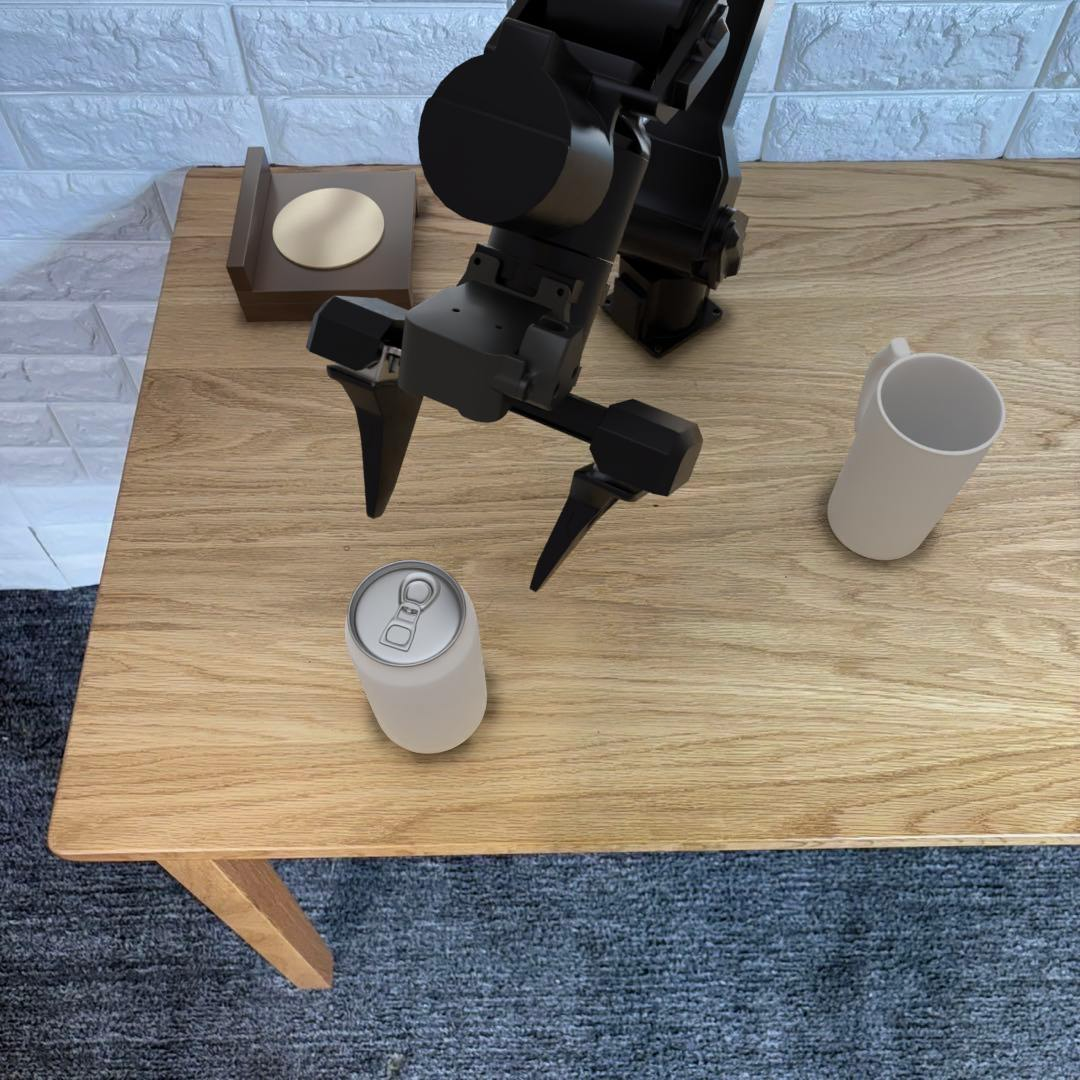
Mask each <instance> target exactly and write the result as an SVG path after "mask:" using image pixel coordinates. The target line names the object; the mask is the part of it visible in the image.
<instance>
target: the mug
mask: <svg viewBox="0 0 1080 1080" xmlns="http://www.w3.org/2000/svg"><path fill="white" fill-rule="evenodd" d="M856 406H857V407H856V412H855V417H854V422H853V430H854V433H855V436H854V439H853V441H852V444H851V445H850V448H849V451H848V453H847V455H846V456H845V457H846V458H845V460H844V463H843V464H842V467H841V469H840V472H839V474H838V476H837V479H836V482H835V484H834V487H833V489H832V492H831V494H830V496H829V499H828V502H827V503H828V504H827V509H826V510H827V511H826V512H827V513H826V514H827V520H828V524H829V526H830V529H831V531H832V532H833V534H834V535H835V537H836V539H838V540H839V541H840V543H841V544H843V546H845V547H846V548H847V549H849V550H850V551H852V552H854V553H855V554H857V555H860V556H861V557H864V558H867V559H871V560H877V561H893V560H898V559H901V558H903V557H907V556H909V555H910V554H912V553H913V552H915V550H917V549H918V548H919V547H920V546H921V544H922V543H923V542H924V541H925V539H926V538H927V536H928V535H929V534H930V533H931V532H932V531H933V528H934V527H935V526H936V525H937V524H938V522H939V521H940V519H941V518H942V517H943V515H944V514H945V513H946V511H947V509H948V508H949V506H950V505H951V504H952V503H953V501H954V499H955V498H956V497H957V495H958V494H959V493H960V491H961V490H962V488H963V487H964V486H965V485H966V483H967V482H968V480H969V479H970V478H971V476H972V475H973V473H974V472H975V471H976V470H977V468H978V466H979V465H980V464H981V462H982V461H983V459H984V458H985V457H986V455H987V454H988V453H989V451H990V449H991V448H992V446H993V445H994V443H995V441H996V440H997V439H998V438H999V437H1000V435H1001V433H1003V429H1004V427H1005V424H1006V421H1007V420H1006V418H1007V410H1006V403H1005V401H1004V398H1003V395H1002V393H1001V391H1000V390H999V387H997V385H996V384H995V383H994V381H992V379H991V378H990V377H989V376H988V375H987V374H986V373H985V372H983V371H982V370H981V369H979V368H978V367H976V366H975V365H973V364H972V363H970V362H968V361H966V360H963V359H961V358H958V357H956V356H952V355H948V354H943V353H937V352H936V353H935V352H920V353H914V354H912V350H911V348H910V346H909V343H908V340H907V338H906V337H895V338H892V339H891V340H890V341H889V343H888V345H886V346H885V347H883V348H882V349H880V350H879V351H878V352H877V353H876V354H875V355H874V356H873V358H872V359H871V361H870V363H869V365H868V367H867V369H866V372H865V375H864V377H863V381H862V384H861V388H860V391H859V396H858V401H857V405H856Z"/></svg>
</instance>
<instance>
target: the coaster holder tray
mask: <svg viewBox="0 0 1080 1080" xmlns="http://www.w3.org/2000/svg"><path fill="white" fill-rule="evenodd" d="M418 186H419V185H418V180H417V173H416V171H415V170H390V171H389V170H387V171H386V170H384V171H383V170H382V171H381V170H379V171H378V170H377V171H329V172H328V171H327V172H325V171H322V172H320V171H319V172H318V171H317V172H272V170H271V166H270V164H269V160H268V157H267V153H266V149H265V147H264V146H248V147H247V150H246V156H245V160H244V165H243V171H242V177H241V182H240V187H239V193H238V199H237V204H236V210H235V214H234V215H235V216H234V221H233V225H232V232H231V236H230V241H229V248H228V253H227V259H226V264H225V268H226V271H227V274H228V276H229V280H230V281H231V284H232V287H233V289H234V291H235V295H236V298H237V300H238V304H239V305H240V306H239V307H240V309H241V311H242V313H243V317H244V319H245V321H246V322H277V321H278V322H281V321H282V322H283V321H286V322H287V321H313V317H314V314H315V313H316V312H317V311H318V309H319V308H320V307H321V306H322V305H323V303H325V302H326V301H327V300H329V299H330V298H331V297H333V296H349V297H364V298H378V299H380V300H383V301H386V302H388V303H391V304H393V305H396V306H398V307H401V308H403V309H406V310H410V309H412V308H413V307H415V300H414V292H413V287H412V277H413V262H414V261H413V260H414V243H415V228H416V227H415V226H416V217H419V216H420V203H421V200H420V194H419V187H418Z"/></svg>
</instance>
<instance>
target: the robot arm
mask: <svg viewBox="0 0 1080 1080" xmlns="http://www.w3.org/2000/svg"><path fill="white" fill-rule="evenodd" d="M776 2H777V0H515V1H514V2H513V3H512V5H511V7H510V8H509V10H508V11H507V13H506V14H505V15H504V17H503V19H502V20H501V21H500V23H499V24H498V26H497V27H496V29H495V30H494V32H493V33H492V35H491V36H490V37H489V39H488V40H487V41H486V43H485V45H484V48H483V54H479V55H475V56H473V57H470V58H468V59H466V60H465V61H463V62H462V63H460V64H459V65H456V66H455V67H454V68H453V69H452V70H451V71H450V72H449V73H448V74H446V76H444V77H443V79H441V81H440V82H439V83H438V85H437V87H436V89H434V91H433V93H432V94H431V96H430V97H428V98H427V99H426V100H425V102H424V106H423V108H422V112H421V114H420V119H419V126H418V132H417V147H418V158H419V161H420V165H421V169H422V172H423V176H424V178H425V180H426V181H427V184H428V185H429V188H430V189H431V191H432V193H433V194H434V195H435V196H436V198H437V199H438V200H439V201H440V202H441V203H442V204H443V205H444V206H445V207H446V208H447V209H449V210H451V211H452V212H453V213H455V214H456V215H457V216H459V217H461V218H463V219H466V220H468V221H471V222H475V223H479V224H481V225H486V226H489V227H492V228H491V231H490V234H489V237H488V240H487V243H486V244H483V243H478V242H477V243H476V245H475V248H474V251H473V253H472V254H471V255H470V257H469V260H468V263H467V266H466V270H465V272H464V274H463V275H462V277H461V278H460V280H459V281H458V283H457V284H456V285H455V286H448V287H445V288H443V289H441V290H440V291H438V292H436V293H434V294H433V295H431V296H429V297H428V298H426V299H425V300H422V301H421V302H420V303H419V304H417V305H414V307H413V308H412V309H410V310H406V309H403V308H401V307H398V306H396V305H393V304H391V303H388V302H386V301H383V300H380V299H378V298H364V297H349V296H333V297H331V298H330V299H329V300H327V301H326V302H325V303H323V305H322V306H321V307H320V308H319V309H318V311H317V312H316V313H315V314H314V317H313V320H311V325H310V328H309V333H308V337H307V340H306V345H305V349H306V350H307V351H308V352H309V353H310V354H311V353H312V354H314V355H317V356H319V357H321V358H323V359H326V360H328V361H331V362H333V363H334V364H327V365H326V367H325V368H326V374H327V377H328V378H330V379H331V380H334V381H336V382H338V383H339V384H340V385H341V387H342V388H343V390H344V392H345V393H346V395H347V397H348V398H349V400H350V402H351V404H352V405H353V407H354V410H355V415H356V420H357V425H358V426H357V427H358V431H359V438H360V446H361V447H360V448H361V459H362V474H363V485H364V497H365V500H364V501H365V513H366V516H367V517H368V518H370V519H372V520H375V519H379V518H381V517H382V516H383V515H384V513H385V511H386V508H387V506H388V504H389V503H390V499H391V497H392V495H393V493H394V491H395V489H396V486H397V483H398V479H399V476H400V472H401V470H402V466H403V463H404V460H405V457H406V453H407V450H408V449H409V444H410V441H411V438H412V435H413V432H414V428H415V426H416V423H417V418H418V416H419V414H420V410H421V407H422V404H423V400H424V397H426V398H428V399H430V400H432V401H436V402H437V403H440V404H442V405H445V406H447V407H450V408H452V409H454V410H456V411H457V412H458V413H459V415H460V416H461V417H463V418H465V419H467V420H470V421H473V422H477V423H482V424H486V423H487V424H490V423H496V422H499V421H500V420H502V419H503V418H505V416H506V415H507V414H508V412H511V413H513V414H516V415H517V416H520V417H523V418H525V419H528V420H531V421H532V422H535V423H538V424H540V425H543V426H545V427H548V428H550V429H553V430H555V431H558V432H560V433H562V434H565V435H568V436H569V437H572V438H574V439H577V440H580V441H582V442H583V443H587V444H589V448H588V451H590V454H591V457H592V459H593V462H591V463H589V464H586V465H583V466H582V467H580V468H577V469H575V470H574V471H573V474H572V479H571V483H570V488H569V492H568V496H567V498H566V501H565V503H564V505H563V507H562V509H561V511H560V513H559V515H558V517H557V520H556V522H555V524H554V525H553V528H552V530H551V532H550V534H549V537H548V538H547V541H546V542H545V545H544V547H543V549H542V551H541V553H540V555H539V557H538V559H537V562H536V564H535V568H534V571H533V573H532V577H531V580H530V584H529V587H528V589H529V590H530V591H532V592H534V593H537V592H539V591H540V590H541V589H543V587H544V586H545V585H546V584H547V583H548V581H550V579H551V578H552V576H553V575H554V574H555V573H556V571H557V570H558V569H559V568H560V567H561V565H562V564H563V563H564V562H565V561H566V559H567V558H568V557H569V556H570V555H571V554H572V552H573V551H574V550H575V548H577V546H578V544H580V542H581V541H582V540H583V539H584V538H585V536H586V535H587V534H588V532H589V531H590V530H591V529H592V528H593V526H594V525H595V524H596V523H597V522H598V521H599V520H600V519H601V518H602V517H603V516H604V515H605V514H606V513H607V512H608V511H609V510H610V509H611V508H613V506H614V505H615V504H617V502H619V500H620V501H623V502H626V503H637V502H638V501H639V500H641V499H642V498H644V497H645V496H647V495H648V494H652V495H656V496H661V497H665V498H668V497H670V496H671V495H672V494H674V493H675V492H676V491H677V490H679V489H680V488H681V487H683V486H684V485H685V484H687V483H688V482H689V481H690V480H691V479H690V478H691V477H692V473H693V471H694V469H695V466H696V463H697V461H698V459H699V456H700V453H701V451H702V447H703V443H704V438H703V435H702V433H701V429H700V427H699V424H698V423H696V422H694V421H692V420H690V419H689V420H688V419H686V418H684V417H681V416H678V415H676V414H673V413H671V412H669V411H665V410H663V409H660V408H658V407H656V406H653V405H651V404H648V403H645V402H643V401H640V400H638V399H635V398H630V399H626V400H622V401H619V402H615V403H611V404H609V405H608V406H604V405H602V404H599V403H597V402H594V401H592V400H590V399H587V398H584V397H582V396H579V395H577V394H574V393H572V390H573V388H575V387H576V386H577V383H578V380H579V377H580V374H581V372H582V368H583V367H582V366H581V362H582V358H583V353H584V350H585V348H586V345H587V341H588V339H589V335H590V333H591V330H592V327H593V323H594V321H595V319H596V316H597V313H598V309H599V307H600V309H601V310H602V311H603V313H605V314H606V315H607V316H608V317H609V318H610V320H611V321H612V322H613V323H614V324H615V325H617V327H619V328H620V329H621V330H622V331H623V332H624V333H625V334H626V335H627V336H628V337H629V338H630V339H631V340H633V341H635V342H636V343H637V344H639V346H641V347H642V348H643V349H644V350H645V351H647V353H648V354H649V355H650V356H652V358H656V359H661V358H663V357H665V356H666V355H667V354H670V353H671V352H673V351H675V350H676V349H677V348H679V347H680V346H681V345H683V344H685V343H686V342H688V341H689V340H691V339H693V338H694V337H695V336H697V335H699V334H700V333H702V332H703V331H705V330H707V329H708V328H710V327H712V325H714V324H716V323H718V321H719V322H720V320H721V319H722V318H723V315H724V311H723V309H722V308H721V307H720V306H719V305H718V304H717V303H715V302H714V301H713V300H712V299H711V298H710V293H711V290H712V291H715V292H716V291H717V290H718V287H720V284H721V283H722V282H723V280H726V279H727V278H730V277H734V276H737V275H738V273H739V272H740V269H741V265H742V261H743V257H744V252H745V251H744V249H745V247H744V243H745V240H746V237H747V232H746V230H747V226H748V223H749V220H750V217H749V216H748V215H747V214H745V213H744V212H742V211H741V210H739V209H738V208H734V206H735V204H736V201H737V197H738V195H739V191H740V188H741V185H742V181H743V179H742V178H743V176H742V171H741V166H740V165H741V164H740V161H739V154H738V149H737V144H736V138H735V133H734V132H735V131H734V127H735V124H736V120H737V117H738V114H739V111H740V108H741V105H742V103H743V99H744V97H745V93H746V91H747V88H748V85H749V82H750V80H751V76H752V72H753V69H754V67H755V64H756V61H757V58H758V55H759V52H760V51H761V48H762V47H761V46H762V44H763V40H764V38H765V34H766V32H767V29H768V27H769V23H770V20H771V17H772V14H773V11H774V8H775V6H776ZM644 118H645V120H644ZM617 255H619V261H618V270H617V271H618V272H617V276H615V277H614V280H613V291H612V292H611V293H609V291H610V289H611V285H610V284H608V281H609V278H610V275H611V272H612V269H613V266H614V264H613V263H615V260H616V258H617Z"/></svg>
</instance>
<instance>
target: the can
mask: <svg viewBox="0 0 1080 1080" xmlns="http://www.w3.org/2000/svg"><path fill="white" fill-rule="evenodd" d="M344 640H345V647H346V650H347V652H348V655H349V658H350V661H351V663H352V665H353V667H354V670H355V672H356V675H357V677H358V680H359V682H360V685H361V686H362V688H363V692H364V694H365V696H366V698H367V700H368V702H369V704H370V707H371V709H372V712H373V715H374V716H375V719H376V721H377V723H378V724H379V726H380V729H381V730H382V732H383V733H384V734H385V735H386V736H387V737H388V739H389V740H391V742H392V743H394V744H396V745H397V746H399V747H400V748H402V749H404V750H406V751H410V752H413V753H417V754H428V755H429V754H439V753H442V752H446V751H449V750H452V749H453V748H454V749H455V748H456V747H458V746H459V745H461V744H463V743H465V742H466V740H467V741H468V739H470V737H471V736H472V735H473V734H474V733H475V731H476V730H477V729H478V728H479V726H480V724H481V722H482V720H483V719H484V715H485V713H486V709H487V704H488V703H487V702H488V692H487V691H488V689H487V680H486V673H485V667H484V666H485V665H484V658H483V651H482V643H481V636H480V630H479V623H478V618H477V613H476V609H475V607H474V604H473V602H472V599H471V598H470V596H469V594H468V592H467V591H466V590H465V588H463V586H462V585H461V584H460V583H459V582H458V581H457V579H456V578H455V577H454V576H453V575H452V574H451V573H450V572H448V571H447V570H446V569H445V568H443V567H441V566H440V565H438V564H435V563H433V562H430V561H426V560H422V559H399V560H394V561H391V562H389V563H386V564H383V565H381V566H379V567H377V568H376V569H374V570H372V571H371V572H370V573H368V574H367V575H365V577H364V578H363V579H362V580H361V581H360V582H359V583H358V585H357V586H356V587H355V589H354V590H353V593H352V595H351V597H350V599H349V603H348V606H347V613H346V617H345V621H344Z"/></svg>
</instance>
